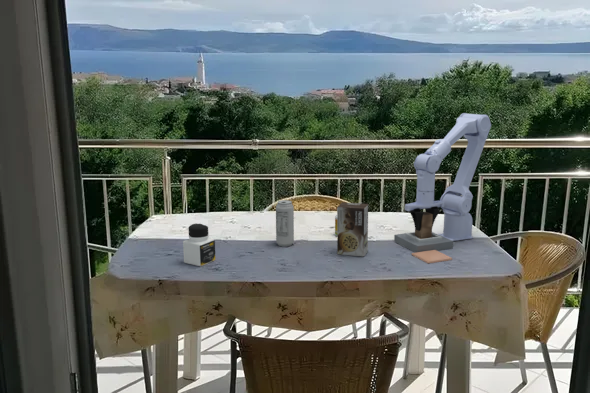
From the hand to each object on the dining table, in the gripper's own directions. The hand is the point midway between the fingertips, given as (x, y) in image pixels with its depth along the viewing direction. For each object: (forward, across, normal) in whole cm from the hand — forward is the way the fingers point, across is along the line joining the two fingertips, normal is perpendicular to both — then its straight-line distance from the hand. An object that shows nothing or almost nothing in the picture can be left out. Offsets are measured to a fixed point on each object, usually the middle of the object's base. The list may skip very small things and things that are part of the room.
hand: (423, 229), depth 193 cm
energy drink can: (+6, +43, -19) cm, 47 cm away
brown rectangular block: (+2, 0, 0) cm, 2 cm away
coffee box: (+6, +26, -2) cm, 27 cm away
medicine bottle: (+6, +74, -13) cm, 75 cm away
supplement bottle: (+6, +20, -21) cm, 30 cm away
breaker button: (+5, 0, 0) cm, 5 cm away
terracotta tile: (+6, +5, +12) cm, 14 cm away
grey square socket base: (+6, 0, 0) cm, 6 cm away
